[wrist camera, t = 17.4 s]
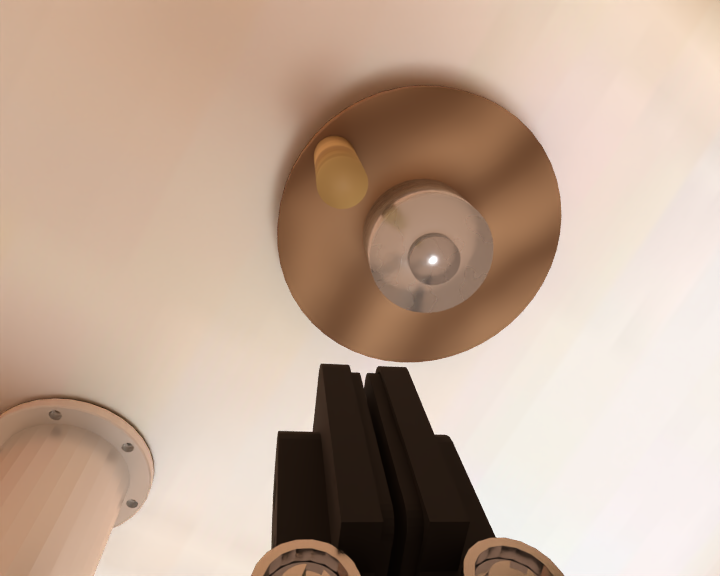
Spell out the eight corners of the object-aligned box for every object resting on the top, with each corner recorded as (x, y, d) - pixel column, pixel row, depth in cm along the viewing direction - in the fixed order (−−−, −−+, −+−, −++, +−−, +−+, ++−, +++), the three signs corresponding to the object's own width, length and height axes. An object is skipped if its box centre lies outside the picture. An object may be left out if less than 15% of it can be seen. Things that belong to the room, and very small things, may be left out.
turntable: (603, 223, 36) (684, 270, 29) (412, 394, 41) (438, 475, 33) (423, 14, 30) (464, 2, 23) (219, 240, 34) (195, 296, 27)
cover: (495, 231, 34) (523, 257, 30) (416, 305, 36) (431, 341, 32) (420, 154, 32) (439, 170, 28) (339, 237, 34) (344, 266, 29)
